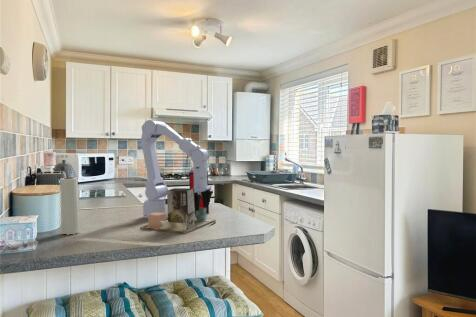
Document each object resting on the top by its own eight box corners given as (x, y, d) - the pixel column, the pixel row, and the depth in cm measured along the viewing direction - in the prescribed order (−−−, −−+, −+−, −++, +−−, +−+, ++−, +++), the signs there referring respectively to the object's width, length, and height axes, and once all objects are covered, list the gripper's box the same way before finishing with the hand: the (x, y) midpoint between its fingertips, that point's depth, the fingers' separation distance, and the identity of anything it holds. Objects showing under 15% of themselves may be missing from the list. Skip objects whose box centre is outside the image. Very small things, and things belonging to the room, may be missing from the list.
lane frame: (140, 231, 133) (139, 215, 133) (174, 219, 154) (174, 205, 153) (185, 236, 124) (185, 220, 124) (216, 223, 144) (215, 209, 144)
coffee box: (196, 229, 135) (195, 188, 135) (188, 233, 129) (187, 190, 129) (175, 227, 138) (174, 187, 138) (167, 231, 132) (166, 189, 132)
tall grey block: (68, 236, 127) (65, 178, 126) (58, 234, 130) (56, 178, 129) (85, 232, 133) (83, 177, 132) (76, 230, 136) (74, 176, 135)
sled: (159, 231, 131) (159, 216, 130) (191, 220, 150) (190, 206, 150) (185, 235, 126) (184, 218, 125) (214, 222, 145) (213, 208, 144)
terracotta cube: (148, 227, 135) (148, 214, 135) (154, 224, 140) (154, 212, 139) (159, 228, 133) (159, 215, 133) (166, 225, 138) (165, 212, 138)
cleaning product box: (208, 213, 165) (208, 172, 164) (190, 214, 164) (189, 172, 163) (208, 207, 181) (207, 169, 180) (191, 208, 180) (190, 170, 179)
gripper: (199, 179, 137) (200, 212, 138) (217, 175, 150) (217, 206, 151) (184, 178, 141) (185, 211, 141) (203, 175, 154) (204, 205, 154)
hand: (201, 209), depth 146 cm, fingers open, 7 cm apart
